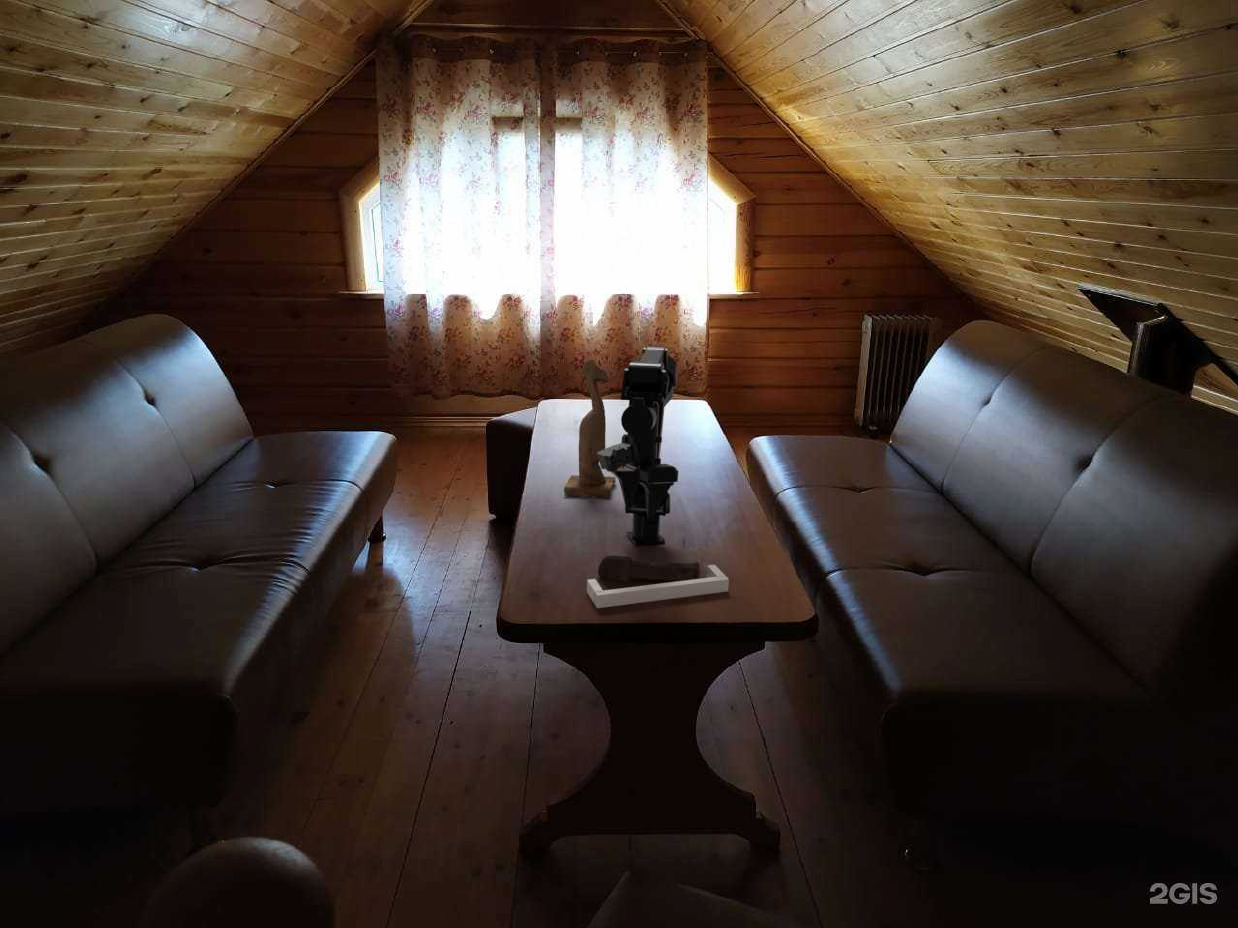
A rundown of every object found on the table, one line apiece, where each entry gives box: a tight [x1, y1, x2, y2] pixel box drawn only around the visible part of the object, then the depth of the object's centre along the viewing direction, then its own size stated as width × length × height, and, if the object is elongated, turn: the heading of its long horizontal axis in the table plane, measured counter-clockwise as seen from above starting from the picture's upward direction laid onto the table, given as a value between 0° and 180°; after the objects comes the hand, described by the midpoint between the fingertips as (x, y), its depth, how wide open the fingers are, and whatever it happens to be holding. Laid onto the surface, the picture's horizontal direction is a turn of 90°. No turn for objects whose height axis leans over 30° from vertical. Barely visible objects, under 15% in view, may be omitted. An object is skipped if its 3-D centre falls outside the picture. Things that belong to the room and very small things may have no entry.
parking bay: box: [586, 564, 730, 609], centre depth 160 cm, size 6×25×2 cm, turn 108°
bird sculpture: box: [563, 359, 617, 499], centre depth 208 cm, size 11×12×32 cm
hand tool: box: [597, 555, 701, 582], centre depth 165 cm, size 19×4×5 cm, turn 84°
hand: (639, 511), depth 167 cm, fingers open, 9 cm apart
